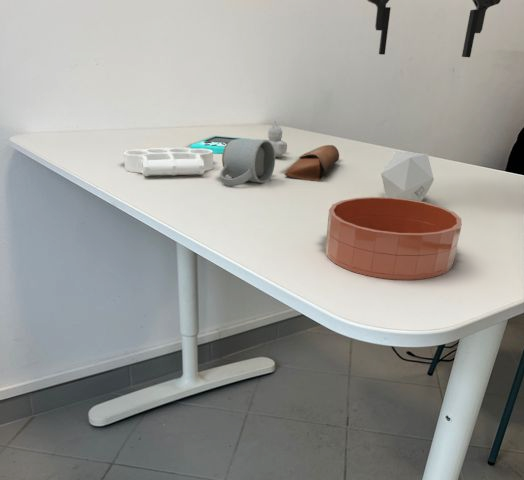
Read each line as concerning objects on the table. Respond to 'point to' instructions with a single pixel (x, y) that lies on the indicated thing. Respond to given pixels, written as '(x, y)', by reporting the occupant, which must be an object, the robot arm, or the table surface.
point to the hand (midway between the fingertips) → (423, 56)
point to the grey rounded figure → (277, 140)
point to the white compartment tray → (168, 161)
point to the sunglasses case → (314, 163)
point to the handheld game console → (214, 144)
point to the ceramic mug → (247, 161)
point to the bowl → (392, 237)
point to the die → (407, 176)
